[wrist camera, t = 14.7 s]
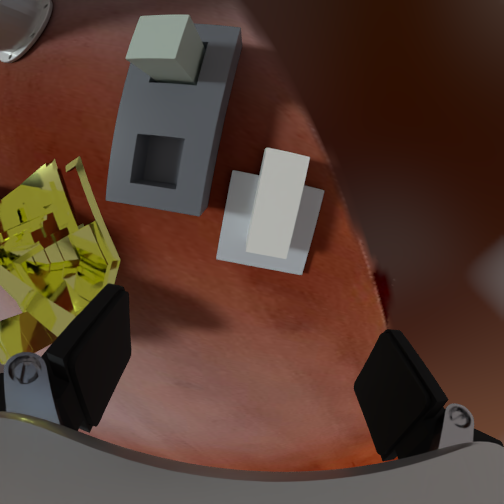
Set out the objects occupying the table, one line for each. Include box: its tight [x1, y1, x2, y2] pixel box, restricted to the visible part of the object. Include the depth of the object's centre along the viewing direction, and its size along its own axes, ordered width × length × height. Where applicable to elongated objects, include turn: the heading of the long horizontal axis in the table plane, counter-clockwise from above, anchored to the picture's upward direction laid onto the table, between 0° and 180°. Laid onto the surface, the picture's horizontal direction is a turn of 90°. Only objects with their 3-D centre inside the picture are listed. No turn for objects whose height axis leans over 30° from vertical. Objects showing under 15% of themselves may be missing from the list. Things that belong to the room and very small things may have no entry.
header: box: [106, 24, 242, 216], centre depth 24 cm, size 19×10×5 cm, turn 168°
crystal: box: [0, 156, 120, 364], centre depth 24 cm, size 18×25×16 cm
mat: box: [216, 170, 324, 275], centre depth 30 cm, size 10×10×1 cm
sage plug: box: [126, 15, 206, 86], centre depth 19 cm, size 4×4×10 cm
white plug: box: [246, 148, 310, 259], centre depth 27 cm, size 4×4×10 cm
